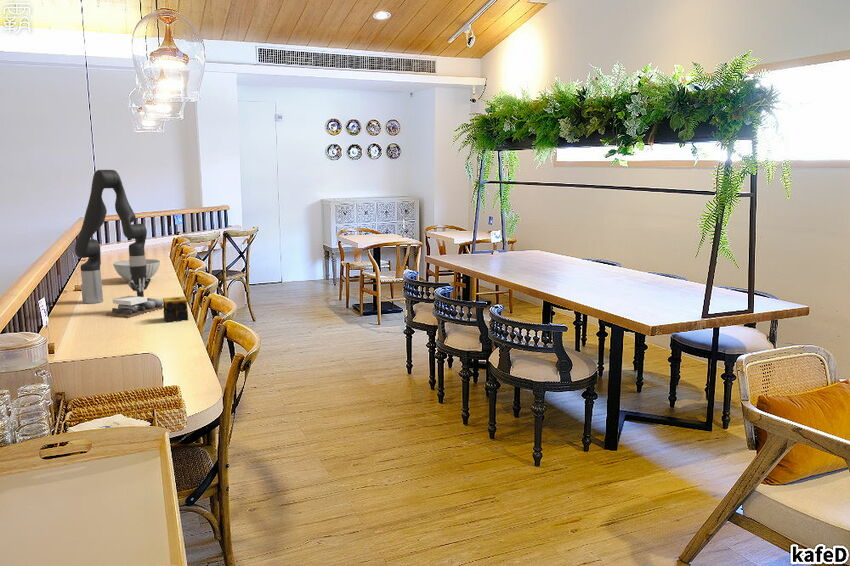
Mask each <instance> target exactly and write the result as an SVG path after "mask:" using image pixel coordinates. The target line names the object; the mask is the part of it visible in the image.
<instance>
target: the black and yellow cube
mask: <svg viewBox="0 0 850 566" xmlns="http://www.w3.org/2000/svg"><path fill="white" fill-rule="evenodd" d="M162 301H163V305H162V306H164V309H163V320H164V319H165V320H164V322H165V321H166V322H165V323H174V322H173V321H176V322H183V321H182V320H186V321H188V320H189V311H188V299H187V298H186V296H172V297H163V298H162Z"/></svg>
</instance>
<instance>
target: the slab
mask: <svg viewBox="0 0 850 566" xmlns="http://www.w3.org/2000/svg"><path fill="white" fill-rule="evenodd" d="M147 298H148V297H147V296H144V297H138V296H137V295H126V296H121V297H117V298H113V299H112V304H114V305H119V304H123V305H135V304H139V303H143V302H147Z"/></svg>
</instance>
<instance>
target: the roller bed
mask: <svg viewBox="0 0 850 566" xmlns="http://www.w3.org/2000/svg"><path fill="white" fill-rule="evenodd" d="M137 305H139V307H140V309H139V311H138V312H137V313H135V312H132V310H126V309H118V307H117V308H115V307H113V308H111V310H112V311H110V312H107V313H106V316H110V317H116V318H124V319H125V318H126V319H129V318H133V317H138V316H141V315H145V314H148V313H147V312H149V313H152V312H151V311H153V312H156V311H155V310H157V311H159V310H158V309H160V310H163V309H162V308H164V306H163V299H161V298H160V299H159V298H152V297H147V302H143V303H139V304H137ZM144 313H145V314H144ZM140 314H141V315H140ZM137 315H138V316H137Z"/></svg>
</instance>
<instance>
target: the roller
mask: <svg viewBox="0 0 850 566" xmlns="http://www.w3.org/2000/svg"><path fill="white" fill-rule="evenodd" d="M117 305H118V306H117V308H118V309H126V310H132V312H135V313H137V312H138V311H139V309H140V307H139V305H137V304H135V305H123V304H117Z"/></svg>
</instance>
